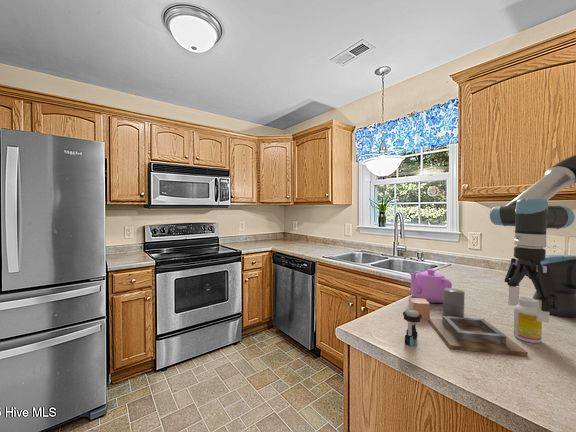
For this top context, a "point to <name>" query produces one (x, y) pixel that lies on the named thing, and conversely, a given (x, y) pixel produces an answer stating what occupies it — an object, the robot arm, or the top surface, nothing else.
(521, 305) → the supplement bottle
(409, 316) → the push button
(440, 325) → the socket board
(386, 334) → the top surface
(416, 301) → the terracotta block
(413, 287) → the teapot
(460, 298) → the grey rounded capsule
